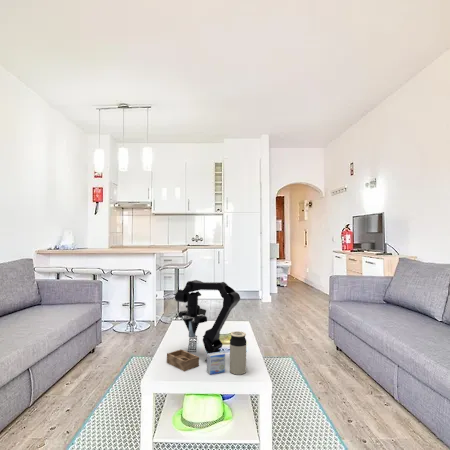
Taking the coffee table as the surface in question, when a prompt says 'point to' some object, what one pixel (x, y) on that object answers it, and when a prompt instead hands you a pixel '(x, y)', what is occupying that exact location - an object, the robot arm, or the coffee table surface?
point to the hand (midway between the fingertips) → (192, 332)
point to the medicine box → (215, 363)
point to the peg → (191, 330)
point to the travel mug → (238, 353)
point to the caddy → (183, 360)
